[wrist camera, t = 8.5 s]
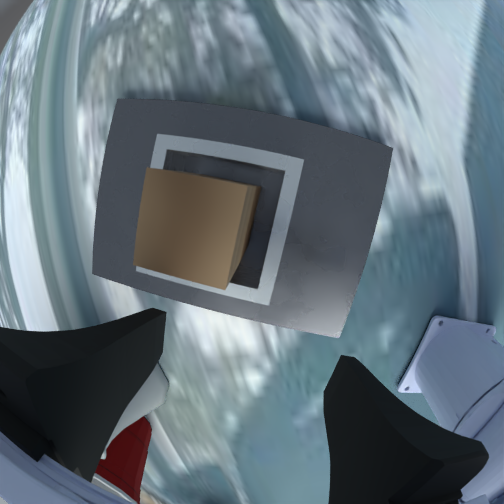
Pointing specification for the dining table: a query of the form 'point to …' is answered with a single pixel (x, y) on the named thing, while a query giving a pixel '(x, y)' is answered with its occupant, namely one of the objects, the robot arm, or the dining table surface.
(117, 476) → the plastic cup
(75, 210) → the dining table surface
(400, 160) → the dining table surface
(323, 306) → the post socket base
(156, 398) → the flask
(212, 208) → the walnut rail post
